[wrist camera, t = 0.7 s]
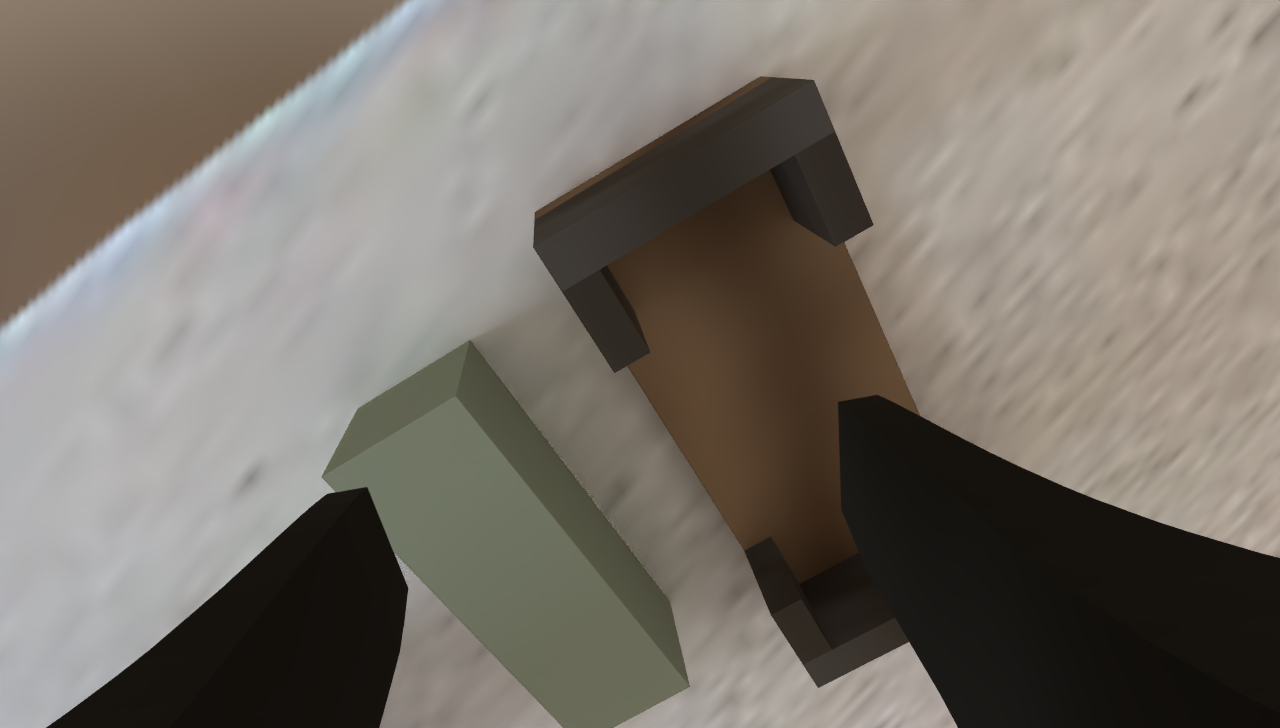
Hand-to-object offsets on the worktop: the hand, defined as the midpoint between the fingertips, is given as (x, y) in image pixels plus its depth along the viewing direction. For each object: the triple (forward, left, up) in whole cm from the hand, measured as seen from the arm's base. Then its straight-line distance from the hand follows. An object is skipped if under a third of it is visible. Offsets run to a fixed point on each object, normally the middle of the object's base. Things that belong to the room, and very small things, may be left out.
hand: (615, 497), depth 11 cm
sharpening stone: (-5, -6, -11) cm, 13 cm away
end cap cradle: (+4, -6, -11) cm, 12 cm away
